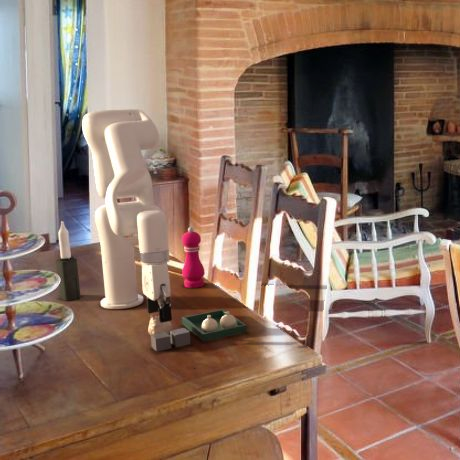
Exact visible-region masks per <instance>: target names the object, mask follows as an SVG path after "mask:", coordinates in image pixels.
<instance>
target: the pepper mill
mask: <svg viewBox="0 0 460 460" xmlns="http://www.w3.org/2000/svg"><path fill="white" fill-rule="evenodd" d="M201 240H202V237H201V235H200V234H199V232H197V231H194V227H192V226H190V227H188V228H187V232H185V233H184V234H183V235H182V236H181V243H182V244H183V245H184V246H183V251H184V252H185V261H184V264H183V267H182V271H181V274H182V277H183V278H184V281H183V282H184V283H183V284H184V288H188V289H197V288H201V287H203V286H204V285H205V282H204V281H205V280H204V278H203V277H204V276H205V274H206V272H205V267H204V264H203V263H202V261H201V259H200V254H199V251H200V250H201V248H200V247H201V246H200V244H201Z"/></svg>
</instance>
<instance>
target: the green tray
mask: <svg viewBox="0 0 460 460" xmlns="http://www.w3.org/2000/svg"><path fill="white" fill-rule="evenodd" d="M226 312H227V310H226V309H224V308H221V309H217V310H212V311H207V312H202V313H201V312H200V313H197V314H192V315H187V316H182V317H181V324H182V325H183V326H184V328H186V329H187V330H188V331H189V332H191V333H193V334H194V335H195V336H196V337H198V339H200V340H201V341H203V342H207V341H208V342H209V341H212V340H216V339H222V338H225V337H231V336H234V335H239V334H243V333H247V332H248V325H247V324H246V323H244V322H243V321H242V320H241V319H238V318H237V317H236V316H234V314H233V315H232V314H231V312H229V314H230V315H232V316H234V317H235V319H236V325H235V327H231V328H226V329H223V328H222V327H221V325H220V320H221V318H222V317H223V316H224V315H226ZM208 315H211V318H212V319H214V320H216V322H217V323H218V328H217V330H216V331H212V332H207V333H205V332H203V330H202V323H203V321H204V320H206V319H207V316H208Z"/></svg>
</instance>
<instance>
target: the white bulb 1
mask: <svg viewBox="0 0 460 460" xmlns="http://www.w3.org/2000/svg"><path fill="white" fill-rule="evenodd" d="M217 328H218V323H217V322H216V320H214V319H212V318H211V315H208V316H207V319H206V320H204V321H203V323H202V330H203V332H205V333H207V332H212V331H216V330H217Z"/></svg>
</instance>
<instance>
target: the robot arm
mask: <svg viewBox="0 0 460 460" xmlns="http://www.w3.org/2000/svg"><path fill="white" fill-rule="evenodd" d="M81 127H82V133H83V136H84V138H85V141H86V143H87V145H88V147H89V149H90V152H91V154H92V160H93V170H94V179H95V186H96V191H97V194H98V196H99V197H100V198H101V199H103V200H104V205H101V206H100V207H98V208H97V209H96V211H95V213H94V221H95V226H96V230H97V234H98V237H99V238H98V239H99V243H100V253H101V262H102V263H101V264H102V273H103V285H104V296H105V297H104V298H102V299H101V300H100V306H101V308H104V309H107V310H125V309H131V308H134V307H137V306H140V305H142V304H143V303H144V301H145V300H144V296H143V295H145V296H146V307H147V313H148V314H154V313H158V316H159V321H160V322H161V323H163V322H168V321H170V322H172V320H173V317H172V304H171V303H172V302H171V301H172V300H171V294H172V293H171V280H170V274H169V273H170V271H169V268H168V263H169V262H170V261H171V257H170V247H169V234H168V222H167V220H168V219H167V216H166V215H167V214H166V213H165V212H164V211H163V210H162V209H161V207H159V206H158V205H155V197H154V188H153V180H152V176H151V173H150V172H149V170H148V169H147V167H146V164H145V159H144V156H143V153H142V151H149V150H155V149H157V148H158V147H159V143H160V134H159V130H158V128H157V125H156V124H155V122H154V121H153V120H152V119H151V117H150V116H149V115H148V114H146V113H145V111H143V110H141V109H138V108H137V109H136V108H128V109H127V108H126V109H103V110H95V111H90V112H87V113H86V114H85V115H84V116H83V118H82V123H81ZM127 198H135V199H136V200H134V201H126V202H125V201H124V202H123V201H121V202H118V200H119V199H127ZM134 235H137V237H138V238H137V239H138V250H139V261H140V264H141V284H142V293H143V295H141V294H139V290H138V289H139V288H138V279H137V278H138V277H137V267H136V266H137V265H136V255H135V248H134V245H133V243H132V242H131V241H130V240H129V239H128V238H127V237H128V236H134Z"/></svg>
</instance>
